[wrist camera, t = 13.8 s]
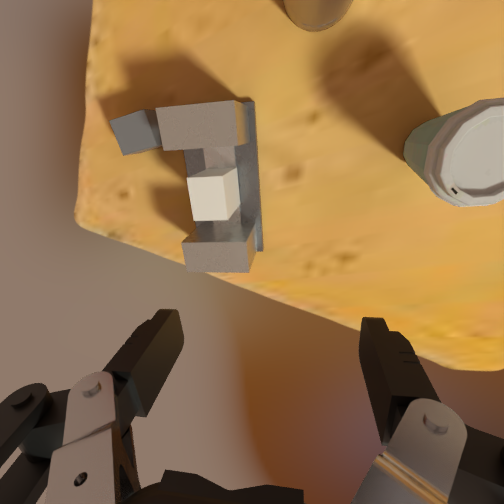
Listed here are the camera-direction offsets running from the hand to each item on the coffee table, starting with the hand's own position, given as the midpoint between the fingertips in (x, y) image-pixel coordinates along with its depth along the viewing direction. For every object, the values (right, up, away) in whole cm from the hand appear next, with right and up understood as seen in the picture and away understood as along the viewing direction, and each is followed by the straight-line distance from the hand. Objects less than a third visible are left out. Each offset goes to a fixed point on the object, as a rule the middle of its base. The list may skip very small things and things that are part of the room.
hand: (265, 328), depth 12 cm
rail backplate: (-5, +15, +34) cm, 38 cm away
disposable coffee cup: (+25, +19, +28) cm, 42 cm away
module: (-5, +14, +33) cm, 36 cm away
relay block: (-17, +23, +33) cm, 44 cm away
